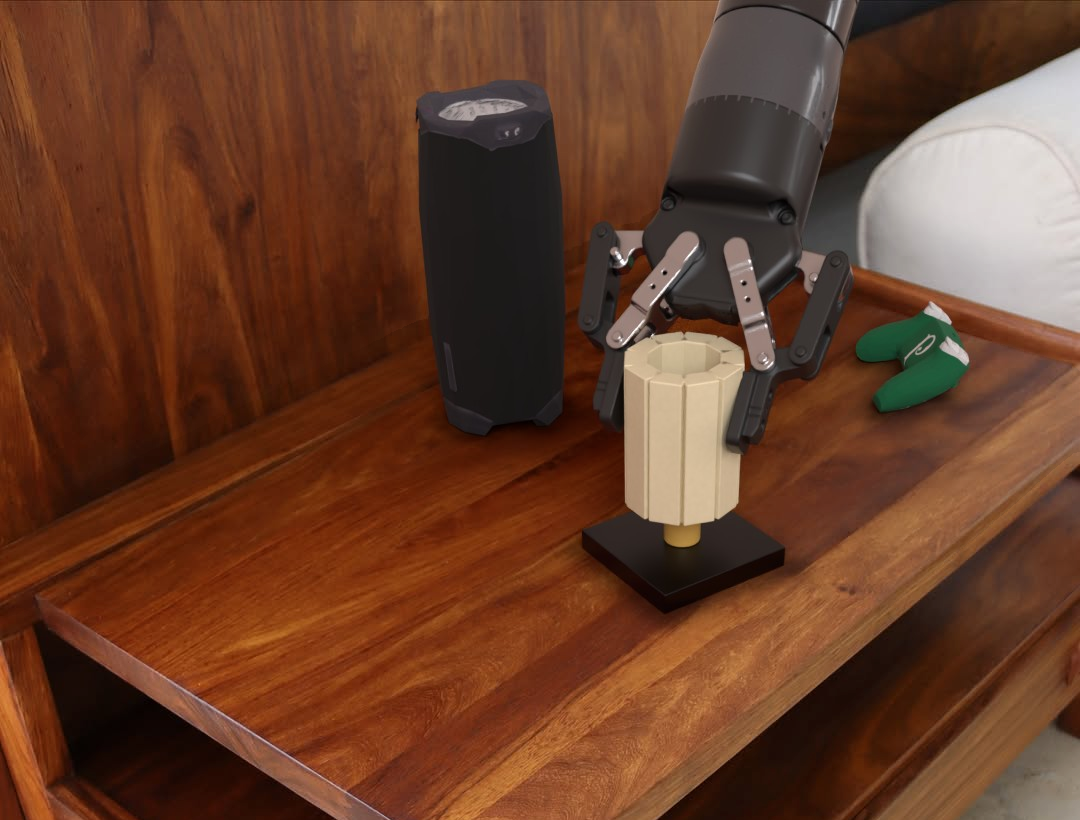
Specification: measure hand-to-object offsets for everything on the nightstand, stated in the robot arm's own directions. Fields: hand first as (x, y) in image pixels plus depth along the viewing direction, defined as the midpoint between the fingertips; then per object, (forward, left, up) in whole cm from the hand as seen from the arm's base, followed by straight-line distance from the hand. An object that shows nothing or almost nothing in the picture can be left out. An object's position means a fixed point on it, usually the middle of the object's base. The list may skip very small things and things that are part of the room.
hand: (672, 437), depth 74 cm
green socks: (-26, -9, -8) cm, 29 cm away
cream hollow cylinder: (-1, -1, -4) cm, 5 cm away
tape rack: (-1, -1, -8) cm, 8 cm away
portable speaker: (-2, -22, -8) cm, 24 cm away
